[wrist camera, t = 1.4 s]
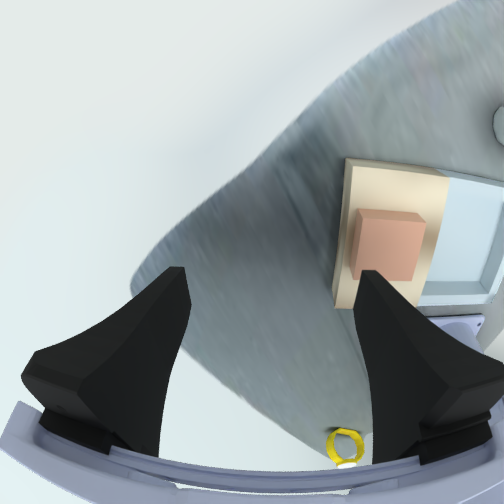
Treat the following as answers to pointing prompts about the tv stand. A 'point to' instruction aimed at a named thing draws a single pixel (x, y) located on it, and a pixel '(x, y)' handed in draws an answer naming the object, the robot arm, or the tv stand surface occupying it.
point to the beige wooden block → (392, 199)
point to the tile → (387, 243)
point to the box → (468, 244)
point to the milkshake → (499, 125)
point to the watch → (333, 454)
